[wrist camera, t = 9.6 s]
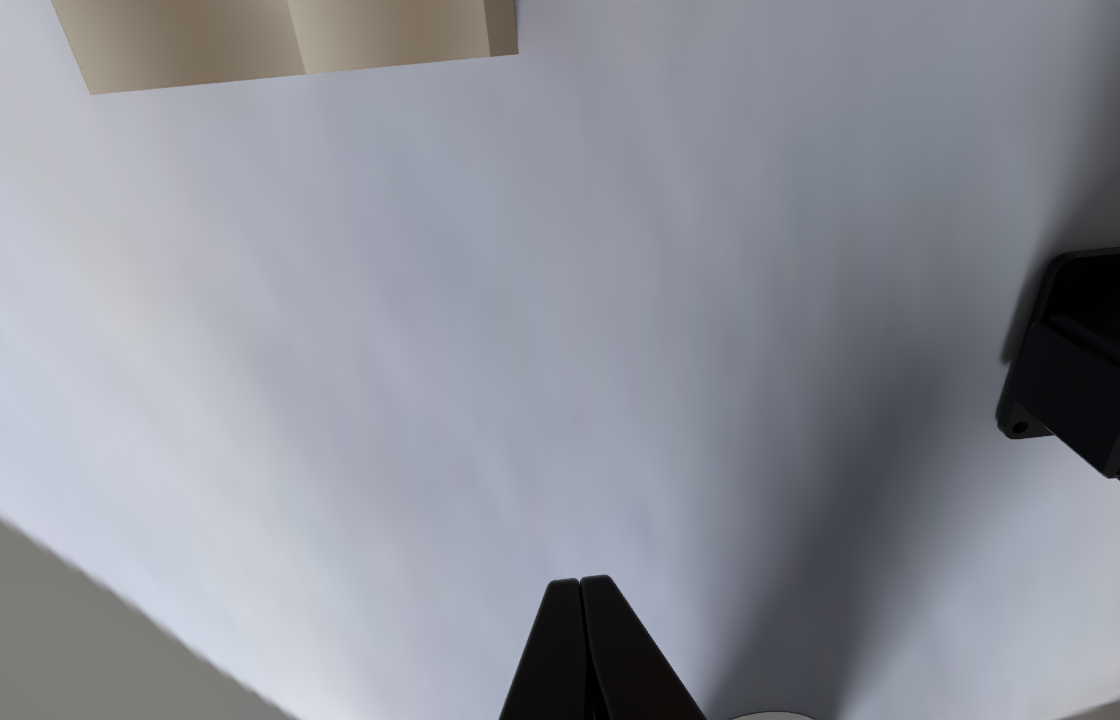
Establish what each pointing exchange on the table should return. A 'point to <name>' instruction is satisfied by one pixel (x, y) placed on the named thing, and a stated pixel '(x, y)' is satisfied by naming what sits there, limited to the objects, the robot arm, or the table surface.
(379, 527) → the table surface
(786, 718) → the cylindrical container
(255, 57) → the floor board
